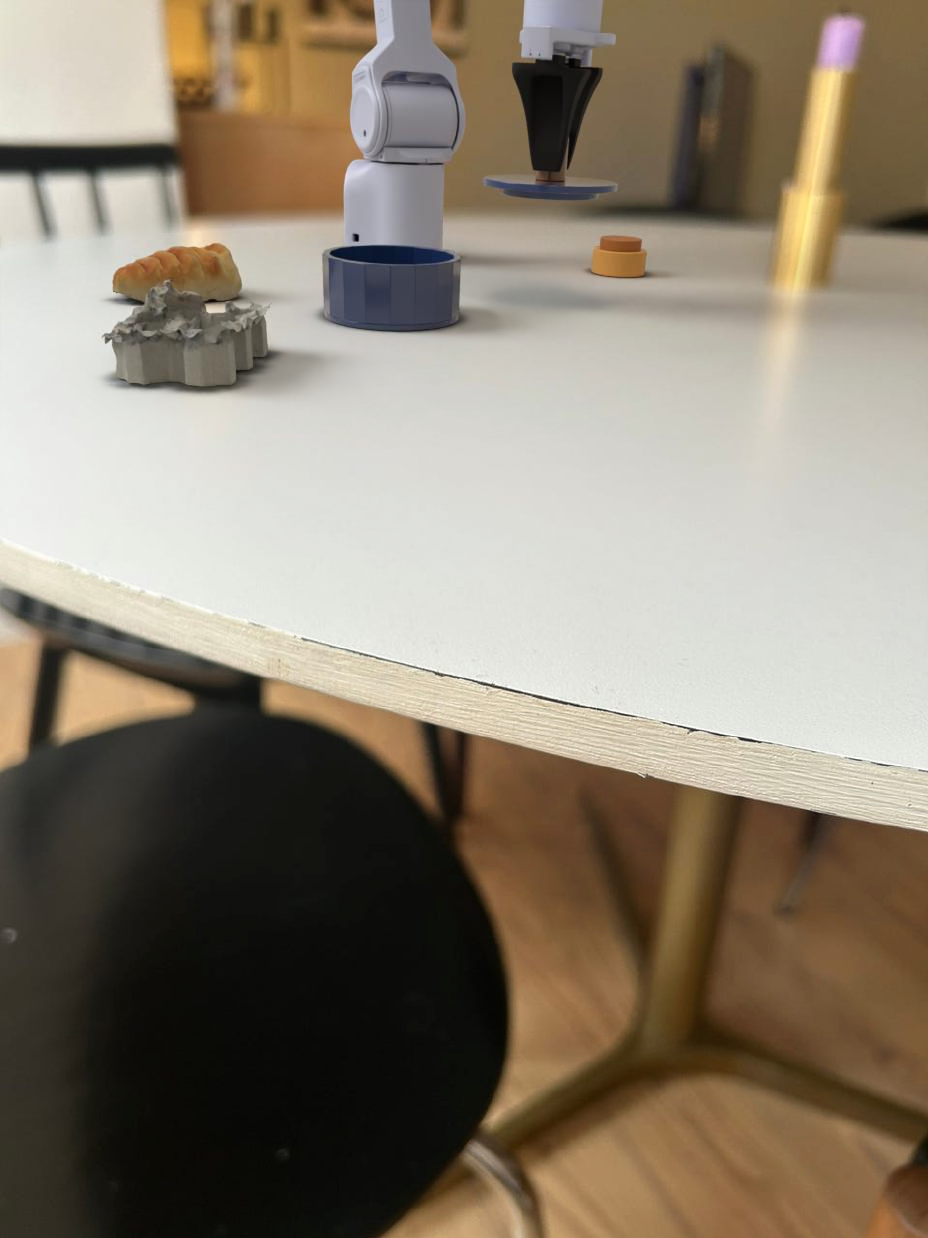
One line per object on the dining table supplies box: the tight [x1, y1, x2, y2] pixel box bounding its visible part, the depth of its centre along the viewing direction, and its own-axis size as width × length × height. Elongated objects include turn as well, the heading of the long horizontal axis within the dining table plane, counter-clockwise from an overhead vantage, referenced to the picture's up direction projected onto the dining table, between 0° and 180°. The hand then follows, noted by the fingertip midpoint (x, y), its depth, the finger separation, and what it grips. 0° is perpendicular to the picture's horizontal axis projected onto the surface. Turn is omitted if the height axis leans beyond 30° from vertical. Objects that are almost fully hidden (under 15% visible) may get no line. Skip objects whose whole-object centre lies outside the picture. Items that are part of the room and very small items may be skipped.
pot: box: [321, 244, 462, 332], centre depth 71 cm, size 10×10×4 cm
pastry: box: [111, 242, 243, 305], centre depth 74 cm, size 9×7×4 cm
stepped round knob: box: [590, 234, 648, 278], centre depth 94 cm, size 5×5×3 cm
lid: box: [482, 133, 619, 201], centre depth 75 cm, size 11×11×5 cm
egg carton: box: [101, 279, 271, 387], centre depth 56 cm, size 11×8×4 cm
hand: (550, 169), depth 75 cm, fingers closed on lid, 2 cm apart
